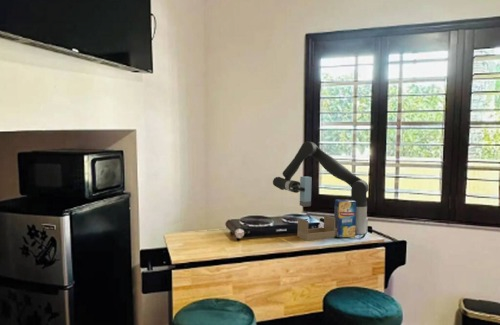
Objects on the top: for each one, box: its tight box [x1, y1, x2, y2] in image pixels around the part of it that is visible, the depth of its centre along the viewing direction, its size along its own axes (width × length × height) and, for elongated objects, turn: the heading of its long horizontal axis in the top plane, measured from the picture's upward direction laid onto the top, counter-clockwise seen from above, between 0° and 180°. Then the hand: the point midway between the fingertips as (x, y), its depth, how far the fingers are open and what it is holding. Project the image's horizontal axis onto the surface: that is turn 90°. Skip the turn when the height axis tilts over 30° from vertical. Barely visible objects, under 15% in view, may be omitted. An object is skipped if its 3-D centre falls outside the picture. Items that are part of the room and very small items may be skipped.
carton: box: [296, 215, 336, 242], centre depth 225 cm, size 20×10×12 cm, turn 116°
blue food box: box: [333, 199, 356, 238], centre depth 229 cm, size 7×11×22 cm, turn 100°
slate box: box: [299, 175, 313, 208], centre depth 234 cm, size 5×5×18 cm
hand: (308, 189), depth 232 cm, fingers closed on slate box, 5 cm apart
